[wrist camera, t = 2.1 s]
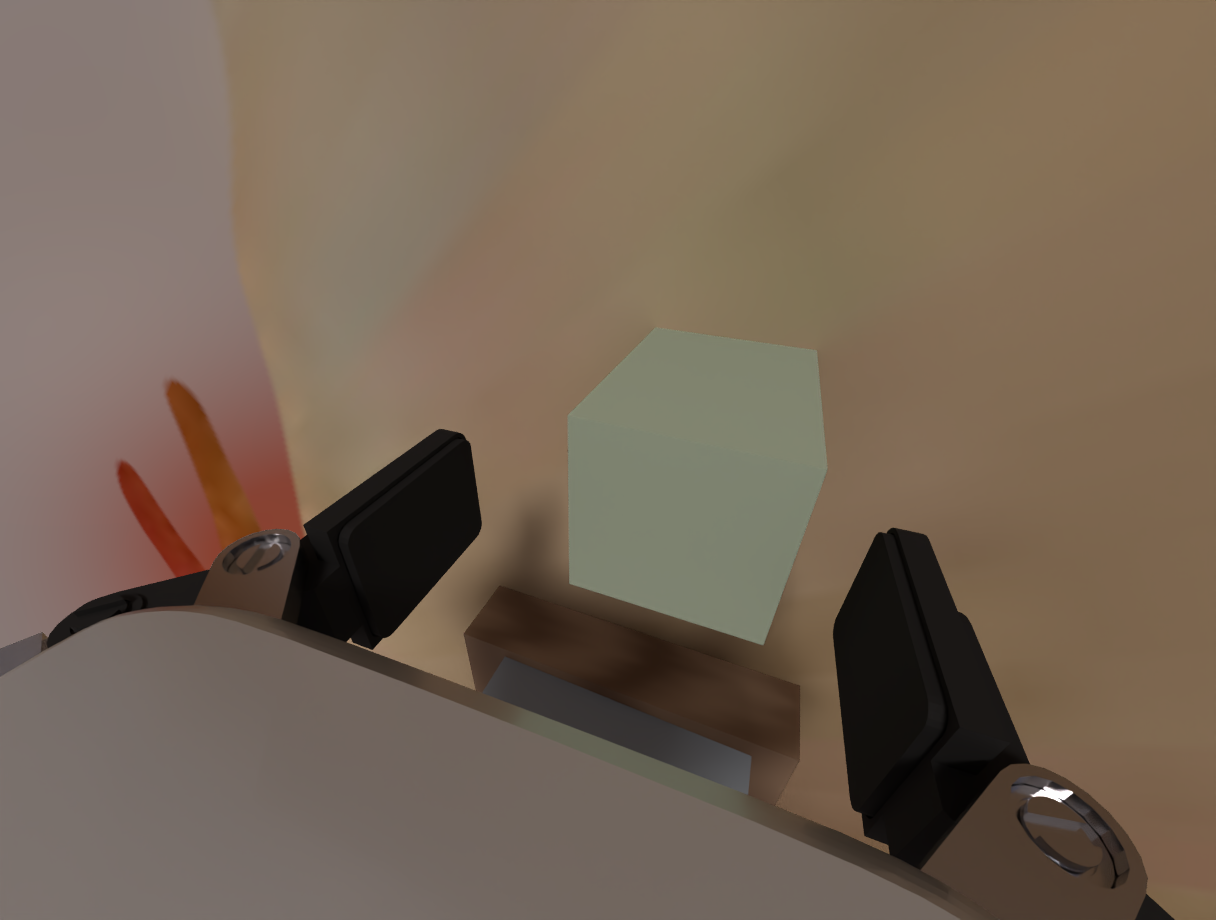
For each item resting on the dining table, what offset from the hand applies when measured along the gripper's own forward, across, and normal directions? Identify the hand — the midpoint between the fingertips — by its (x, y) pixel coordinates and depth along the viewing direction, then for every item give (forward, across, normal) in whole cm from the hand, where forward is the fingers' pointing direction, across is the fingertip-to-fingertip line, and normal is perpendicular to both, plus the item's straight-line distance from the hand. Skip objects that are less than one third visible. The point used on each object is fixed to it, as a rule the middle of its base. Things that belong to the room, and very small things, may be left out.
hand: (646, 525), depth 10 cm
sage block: (+7, -1, 0) cm, 7 cm away
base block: (+7, +1, +22) cm, 23 cm away
